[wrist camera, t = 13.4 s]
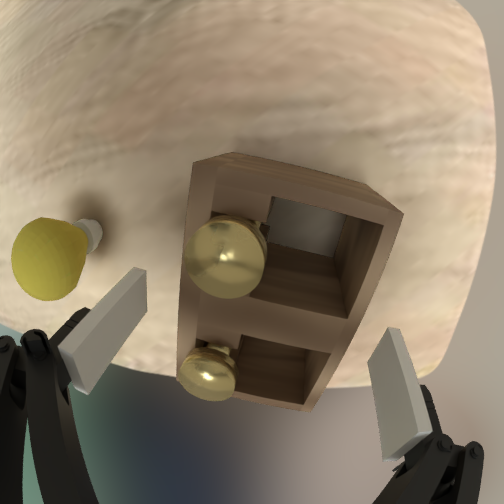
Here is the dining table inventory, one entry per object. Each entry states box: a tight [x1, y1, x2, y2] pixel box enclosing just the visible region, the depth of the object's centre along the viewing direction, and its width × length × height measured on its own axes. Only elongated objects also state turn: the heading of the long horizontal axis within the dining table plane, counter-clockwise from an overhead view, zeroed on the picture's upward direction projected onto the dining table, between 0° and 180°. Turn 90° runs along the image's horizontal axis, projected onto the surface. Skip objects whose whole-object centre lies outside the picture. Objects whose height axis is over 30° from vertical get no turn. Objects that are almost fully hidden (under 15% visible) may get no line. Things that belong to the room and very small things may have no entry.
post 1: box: [184, 215, 267, 299], centre depth 16 cm, size 3×3×10 cm
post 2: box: [178, 342, 239, 401], centre depth 20 cm, size 3×3×10 cm
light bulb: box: [11, 217, 103, 301], centre depth 20 cm, size 7×7×10 cm
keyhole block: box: [176, 152, 404, 412], centre depth 19 cm, size 15×10×8 cm, turn 169°
